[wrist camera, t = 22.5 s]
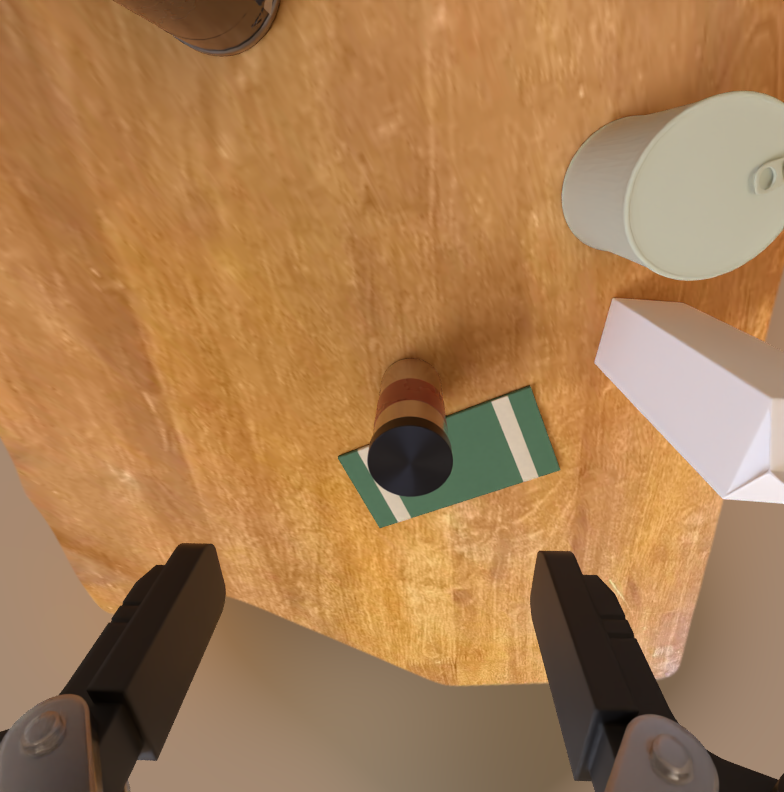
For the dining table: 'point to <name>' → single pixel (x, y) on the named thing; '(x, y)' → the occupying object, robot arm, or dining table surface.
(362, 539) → the dining table surface
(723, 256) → the can
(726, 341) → the milk
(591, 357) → the dining table surface
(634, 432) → the dining table surface
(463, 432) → the towel
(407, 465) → the jar
